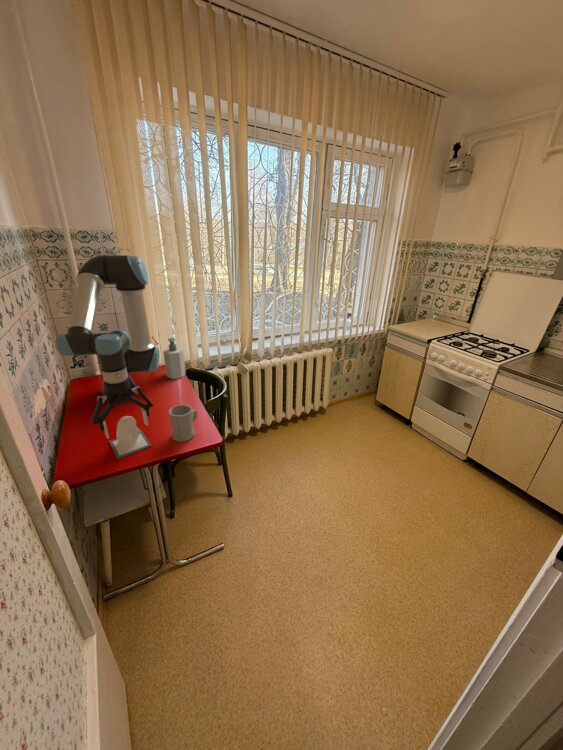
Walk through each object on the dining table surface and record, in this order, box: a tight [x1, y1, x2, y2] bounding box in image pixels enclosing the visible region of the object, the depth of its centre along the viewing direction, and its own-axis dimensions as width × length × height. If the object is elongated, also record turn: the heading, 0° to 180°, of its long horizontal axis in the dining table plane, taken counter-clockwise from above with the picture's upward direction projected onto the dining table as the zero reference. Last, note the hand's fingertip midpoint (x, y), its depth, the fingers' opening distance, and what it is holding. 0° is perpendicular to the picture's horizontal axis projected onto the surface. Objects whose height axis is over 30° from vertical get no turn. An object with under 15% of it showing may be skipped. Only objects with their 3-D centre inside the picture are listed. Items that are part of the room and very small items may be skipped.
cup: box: [168, 403, 198, 442], centre depth 120 cm, size 10×9×12 cm
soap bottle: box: [162, 337, 186, 380], centre depth 167 cm, size 10×9×22 cm
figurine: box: [115, 415, 141, 448], centre depth 112 cm, size 7×8×12 cm
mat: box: [108, 429, 153, 460], centre depth 115 cm, size 12×12×1 cm
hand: (127, 430), depth 113 cm, fingers open, 13 cm apart
